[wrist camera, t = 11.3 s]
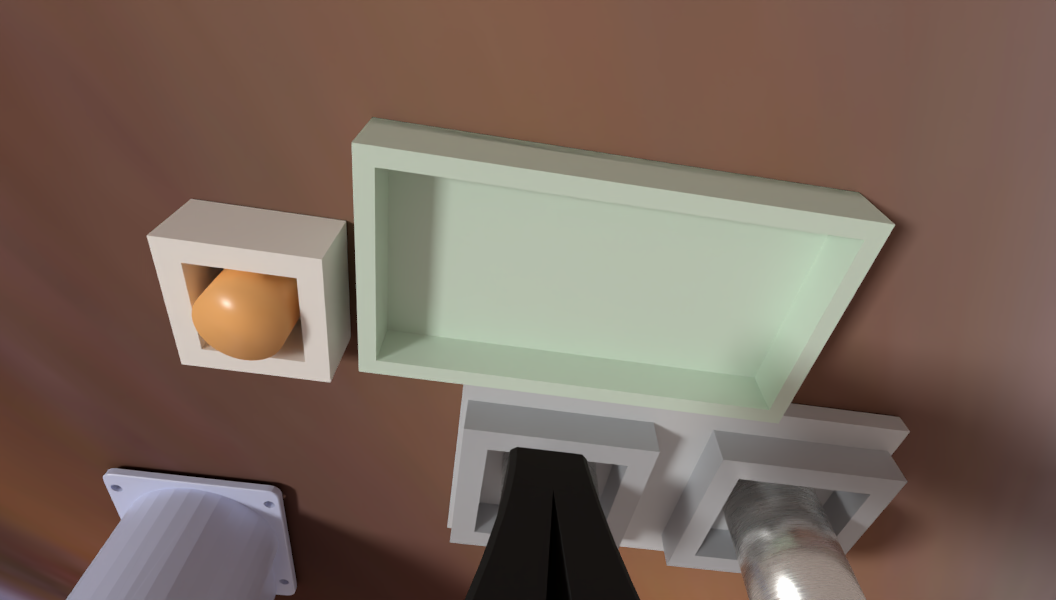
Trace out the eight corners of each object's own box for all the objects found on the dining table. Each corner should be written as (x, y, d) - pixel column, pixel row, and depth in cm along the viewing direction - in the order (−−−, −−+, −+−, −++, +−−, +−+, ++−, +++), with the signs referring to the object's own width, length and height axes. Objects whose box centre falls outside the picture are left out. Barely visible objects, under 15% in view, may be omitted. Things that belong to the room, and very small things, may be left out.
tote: (759, 382, 22) (778, 423, 20) (374, 332, 21) (358, 371, 19) (858, 192, 18) (895, 224, 16) (372, 117, 17) (351, 142, 15)
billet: (790, 527, 26) (849, 674, 21) (708, 517, 26) (748, 664, 21) (828, 473, 24) (905, 624, 19) (739, 462, 24) (792, 612, 19)
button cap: (319, 311, 21) (289, 365, 18) (241, 301, 20) (200, 354, 18) (314, 245, 19) (280, 295, 17) (230, 234, 19) (182, 282, 16)
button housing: (350, 337, 21) (330, 382, 19) (216, 319, 21) (181, 364, 19) (346, 220, 19) (321, 259, 17) (191, 198, 18) (146, 235, 16)
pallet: (797, 551, 29) (815, 595, 27) (449, 513, 28) (442, 557, 26) (899, 417, 23) (931, 461, 21) (466, 361, 22) (459, 404, 20)
